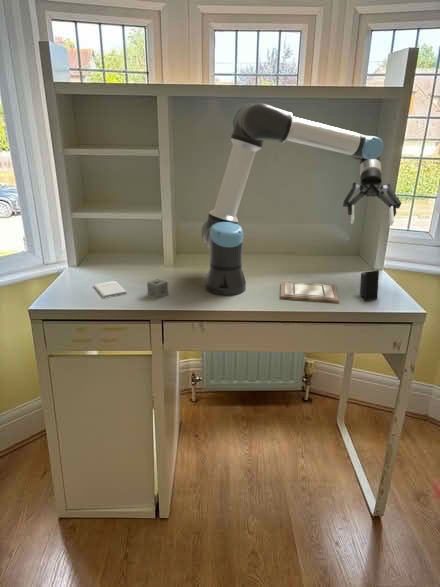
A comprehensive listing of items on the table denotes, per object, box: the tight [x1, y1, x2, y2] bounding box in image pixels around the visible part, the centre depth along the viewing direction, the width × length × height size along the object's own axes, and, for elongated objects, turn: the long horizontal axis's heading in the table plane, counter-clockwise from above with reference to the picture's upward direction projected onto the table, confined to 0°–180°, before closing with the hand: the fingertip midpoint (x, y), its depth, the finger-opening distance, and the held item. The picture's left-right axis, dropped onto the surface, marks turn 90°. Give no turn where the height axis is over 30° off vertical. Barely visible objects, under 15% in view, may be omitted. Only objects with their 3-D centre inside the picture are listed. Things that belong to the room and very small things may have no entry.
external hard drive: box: [94, 280, 128, 298], centre depth 152 cm, size 2×8×12 cm
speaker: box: [359, 269, 380, 302], centre depth 148 cm, size 8×6×10 cm
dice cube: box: [146, 278, 169, 300], centre depth 147 cm, size 5×5×5 cm
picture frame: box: [279, 280, 340, 304], centre depth 152 cm, size 20×15×1 cm
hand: (372, 222), depth 150 cm, fingers open, 13 cm apart
